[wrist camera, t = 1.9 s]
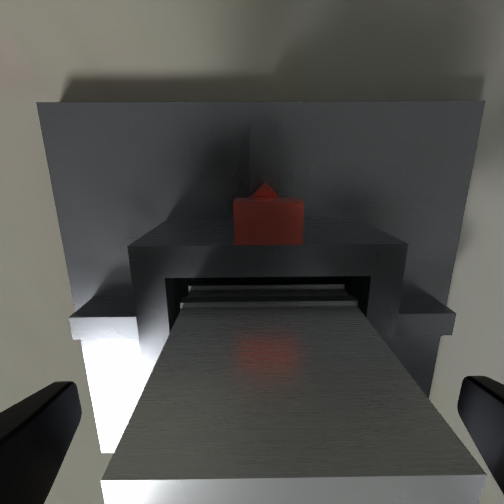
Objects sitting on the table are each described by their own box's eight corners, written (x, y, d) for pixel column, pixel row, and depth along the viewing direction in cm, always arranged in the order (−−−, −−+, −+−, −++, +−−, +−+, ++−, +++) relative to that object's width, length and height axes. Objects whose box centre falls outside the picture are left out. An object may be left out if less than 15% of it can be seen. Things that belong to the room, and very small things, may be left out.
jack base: (463, 106, 10) (615, 65, 6) (407, 429, 14) (476, 543, 10) (56, 108, 10) (-83, 67, 6) (111, 433, 14) (51, 551, 10)
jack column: (321, 253, 11) (495, 468, 3) (315, 356, 12) (431, 692, 4) (202, 255, 11) (92, 474, 3) (207, 357, 12) (137, 699, 4)
